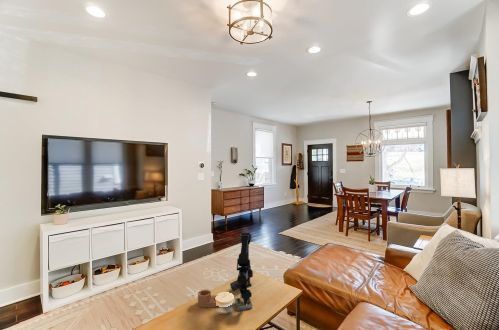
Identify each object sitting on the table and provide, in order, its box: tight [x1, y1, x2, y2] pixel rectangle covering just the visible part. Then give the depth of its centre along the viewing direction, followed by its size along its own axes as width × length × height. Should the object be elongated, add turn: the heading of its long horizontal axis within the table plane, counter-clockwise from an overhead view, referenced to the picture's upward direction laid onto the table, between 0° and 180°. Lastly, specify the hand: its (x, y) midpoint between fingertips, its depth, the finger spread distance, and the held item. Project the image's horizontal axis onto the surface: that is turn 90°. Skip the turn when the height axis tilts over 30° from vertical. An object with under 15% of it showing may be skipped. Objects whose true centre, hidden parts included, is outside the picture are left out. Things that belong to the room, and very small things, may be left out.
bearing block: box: [234, 297, 253, 312], centre depth 148 cm, size 9×9×2 cm
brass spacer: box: [239, 294, 248, 306], centre depth 148 cm, size 5×5×6 cm
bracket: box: [197, 289, 217, 308], centre depth 151 cm, size 18×8×7 cm, turn 92°
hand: (243, 301), depth 148 cm, fingers open, 9 cm apart
